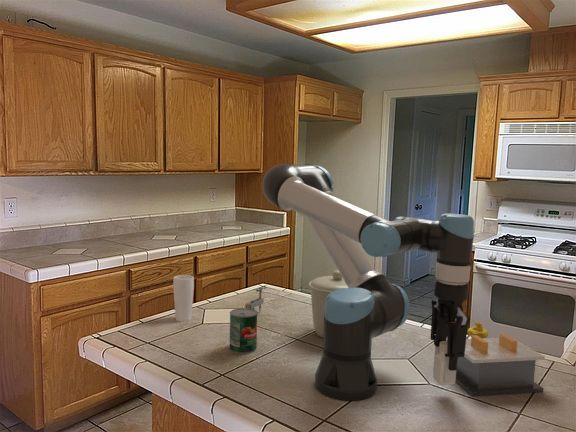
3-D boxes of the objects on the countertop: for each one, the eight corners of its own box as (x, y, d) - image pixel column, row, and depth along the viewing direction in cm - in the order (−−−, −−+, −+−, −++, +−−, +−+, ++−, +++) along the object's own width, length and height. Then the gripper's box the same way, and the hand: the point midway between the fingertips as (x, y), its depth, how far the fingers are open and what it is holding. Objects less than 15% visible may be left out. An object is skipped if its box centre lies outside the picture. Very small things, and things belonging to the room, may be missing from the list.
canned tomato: (234, 342, 143) (234, 306, 142) (259, 345, 141) (260, 309, 140) (225, 352, 135) (226, 315, 134) (252, 355, 134) (253, 317, 132)
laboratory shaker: (472, 396, 113) (475, 350, 112) (442, 371, 127) (445, 330, 125) (543, 391, 116) (547, 347, 115) (507, 367, 130) (510, 327, 129)
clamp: (250, 321, 160) (251, 292, 160) (244, 321, 161) (245, 291, 161) (267, 312, 174) (267, 285, 174) (261, 312, 175) (262, 285, 175)
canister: (358, 349, 140) (361, 279, 138) (299, 340, 146) (301, 273, 143) (368, 330, 157) (371, 267, 155) (315, 322, 163) (317, 262, 160)
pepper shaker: (455, 385, 111) (459, 346, 110) (439, 386, 111) (442, 347, 109) (447, 377, 115) (450, 339, 114) (431, 378, 114) (434, 340, 113)
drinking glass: (184, 315, 166) (184, 273, 164) (197, 320, 162) (198, 276, 161) (169, 320, 161) (169, 277, 159) (182, 325, 157) (182, 280, 155)
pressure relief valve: (470, 351, 141) (472, 318, 140) (513, 363, 133) (516, 328, 132) (463, 357, 137) (466, 323, 135) (508, 369, 129) (511, 333, 128)
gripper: (488, 291, 102) (478, 394, 105) (448, 272, 119) (441, 361, 122) (456, 291, 101) (447, 395, 104) (420, 272, 118) (413, 362, 120)
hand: (444, 377), depth 113 cm, fingers closed on pepper shaker, 4 cm apart
